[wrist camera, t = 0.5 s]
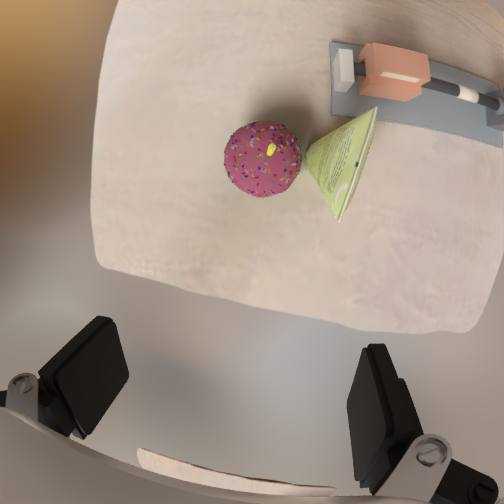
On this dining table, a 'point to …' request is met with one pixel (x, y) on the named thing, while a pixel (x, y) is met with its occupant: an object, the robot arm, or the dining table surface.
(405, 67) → the sleeve
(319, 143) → the tube
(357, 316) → the dining table surface
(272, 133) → the cupcake
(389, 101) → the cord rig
